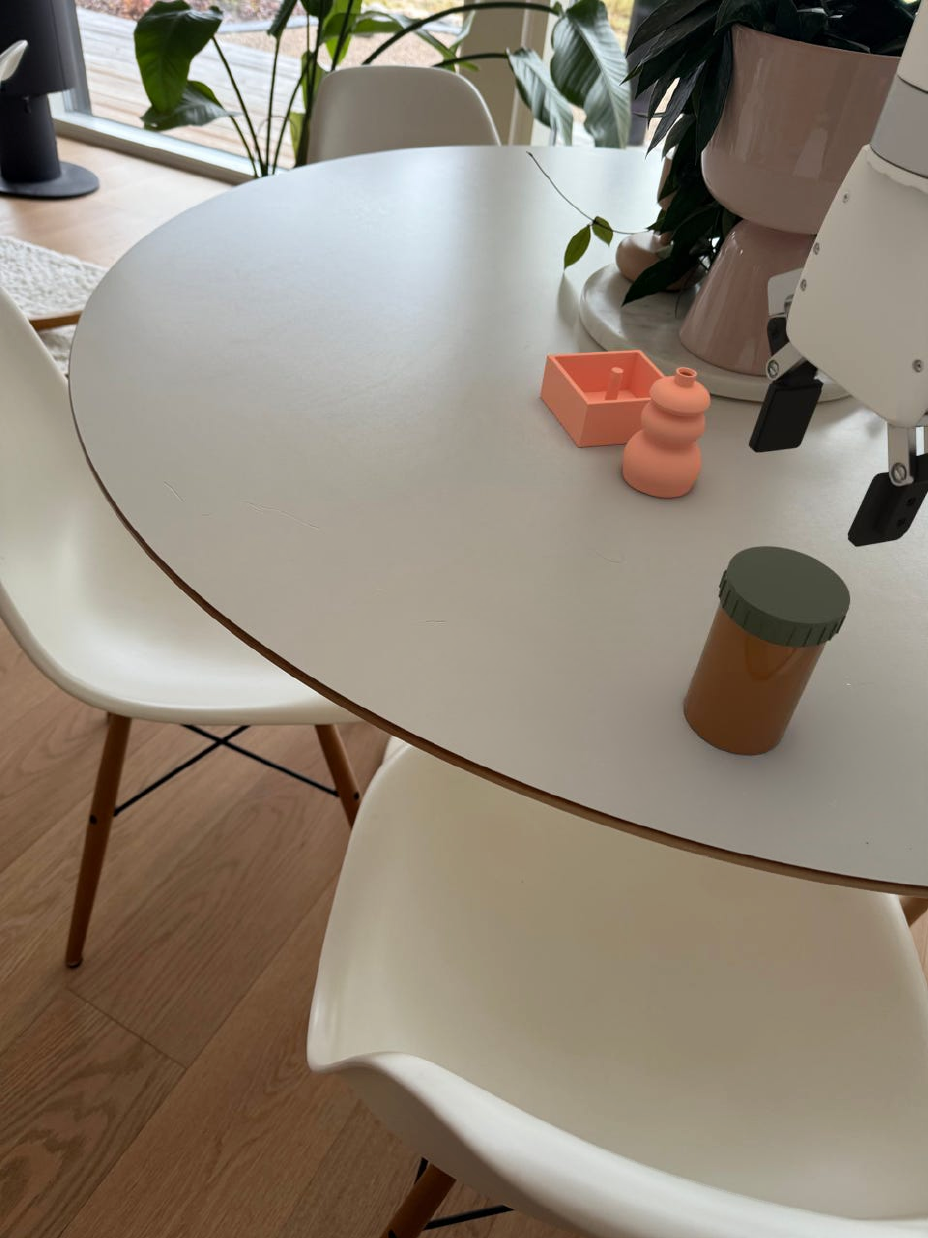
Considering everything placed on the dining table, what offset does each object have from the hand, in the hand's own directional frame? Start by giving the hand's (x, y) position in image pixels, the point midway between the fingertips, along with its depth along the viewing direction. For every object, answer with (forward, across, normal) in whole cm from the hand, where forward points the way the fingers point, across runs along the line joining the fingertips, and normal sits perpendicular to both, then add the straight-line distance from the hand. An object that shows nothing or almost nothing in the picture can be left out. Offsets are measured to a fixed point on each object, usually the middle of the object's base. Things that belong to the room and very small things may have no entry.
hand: (821, 490), depth 53 cm
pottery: (+18, +31, -10) cm, 37 cm away
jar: (+17, 0, 0) cm, 17 cm away
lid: (+6, 0, 0) cm, 6 cm away
